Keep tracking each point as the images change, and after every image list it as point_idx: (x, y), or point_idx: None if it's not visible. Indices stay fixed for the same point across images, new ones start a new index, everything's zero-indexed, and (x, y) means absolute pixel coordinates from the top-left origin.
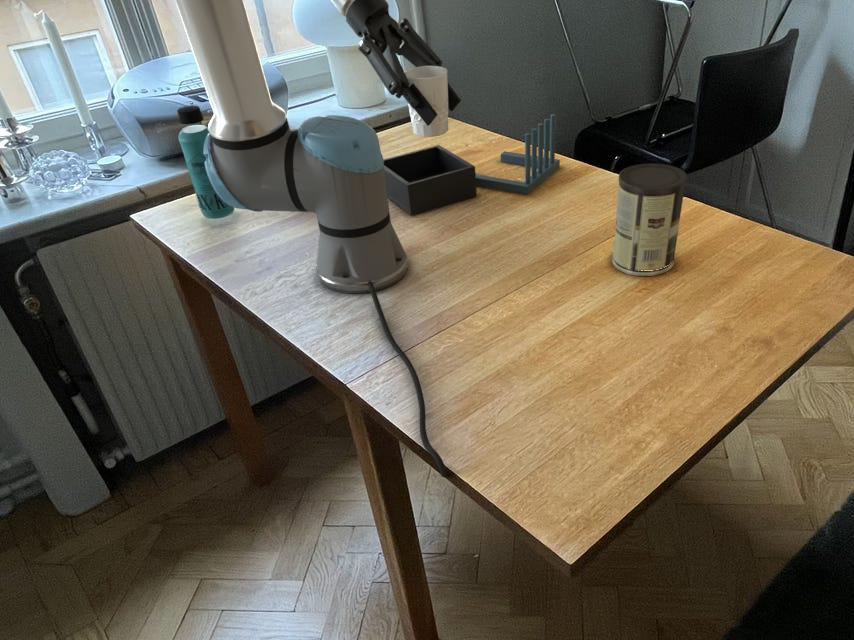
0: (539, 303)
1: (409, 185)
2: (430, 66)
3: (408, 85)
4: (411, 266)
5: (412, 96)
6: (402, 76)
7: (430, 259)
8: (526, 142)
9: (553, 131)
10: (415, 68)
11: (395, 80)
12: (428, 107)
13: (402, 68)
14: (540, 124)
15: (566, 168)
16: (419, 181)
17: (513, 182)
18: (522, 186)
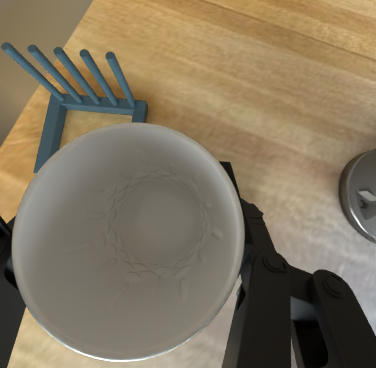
0: (353, 25)
1: (260, 211)
2: (19, 257)
3: (268, 250)
4: (350, 154)
5: (260, 225)
6: (279, 301)
7: (329, 143)
8: (118, 66)
9: (32, 65)
10: (63, 330)
11: (354, 304)
12: (234, 178)
13: (243, 346)
14: (60, 50)
15: (59, 90)
16: (245, 202)
17: (138, 121)
18: (145, 107)
